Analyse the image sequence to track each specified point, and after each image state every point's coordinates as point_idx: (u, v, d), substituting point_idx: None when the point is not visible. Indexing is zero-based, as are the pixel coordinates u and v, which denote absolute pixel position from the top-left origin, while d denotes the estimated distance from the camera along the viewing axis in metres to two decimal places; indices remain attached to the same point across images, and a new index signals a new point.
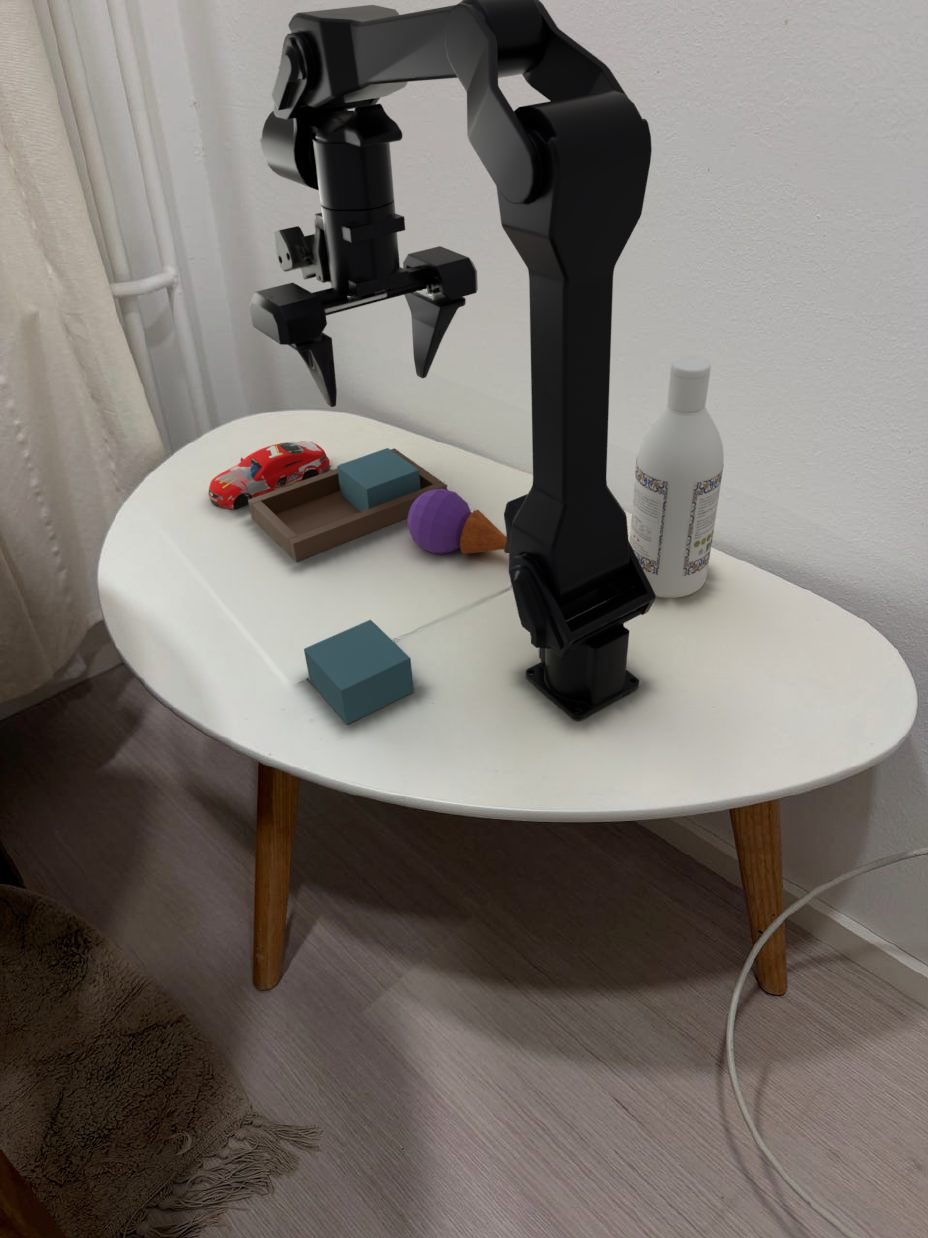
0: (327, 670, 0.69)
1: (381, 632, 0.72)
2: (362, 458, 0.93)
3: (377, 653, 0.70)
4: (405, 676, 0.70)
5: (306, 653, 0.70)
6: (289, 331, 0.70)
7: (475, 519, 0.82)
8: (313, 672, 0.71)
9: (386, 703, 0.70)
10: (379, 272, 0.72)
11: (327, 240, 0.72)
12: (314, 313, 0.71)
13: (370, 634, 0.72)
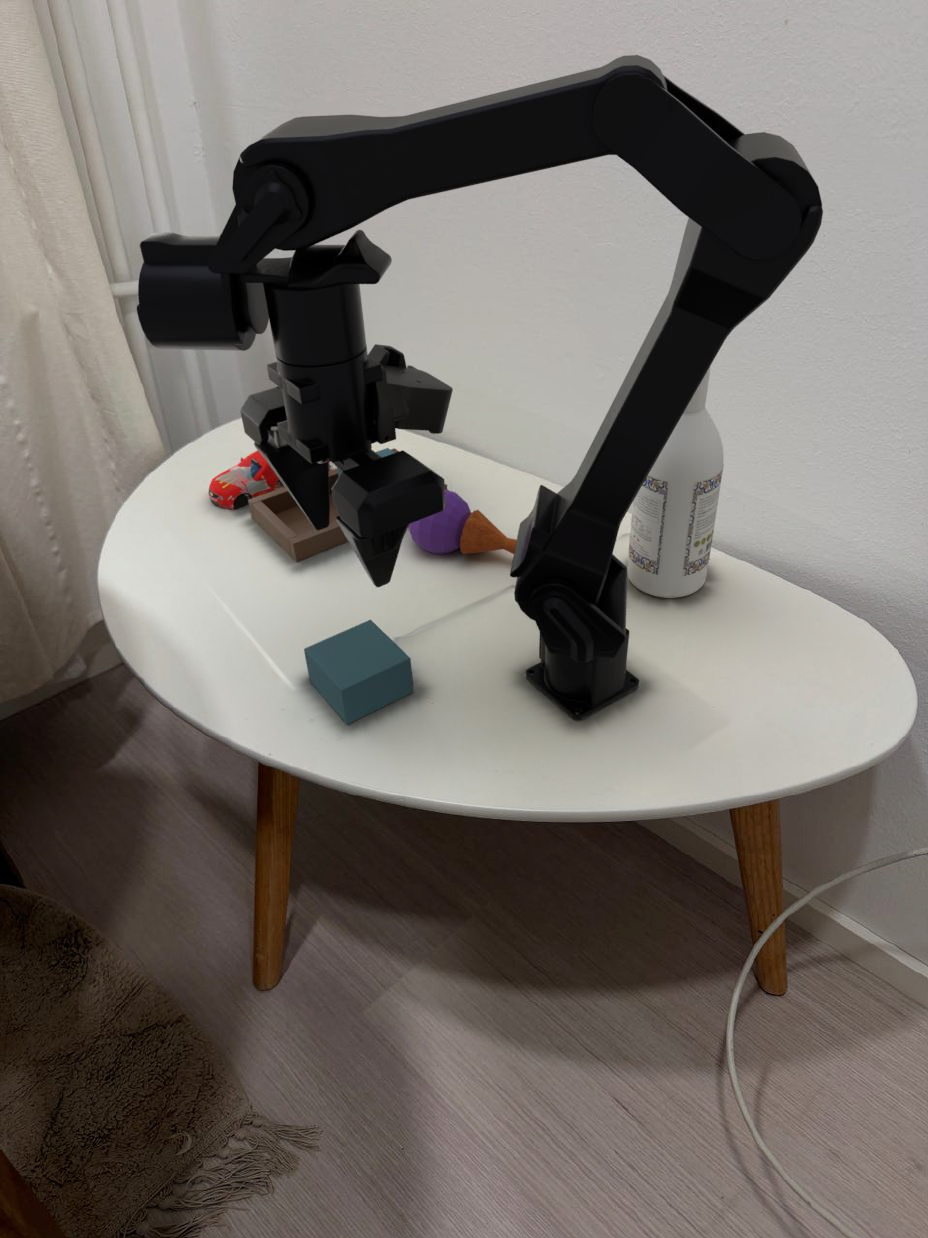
0: (327, 670, 0.69)
1: (381, 632, 0.72)
2: None
3: (377, 653, 0.70)
4: (405, 676, 0.70)
5: (306, 653, 0.70)
6: (242, 420, 0.67)
7: (475, 519, 0.82)
8: (313, 672, 0.71)
9: (386, 703, 0.70)
10: (290, 429, 0.60)
11: None
12: (254, 421, 0.65)
13: (370, 634, 0.72)
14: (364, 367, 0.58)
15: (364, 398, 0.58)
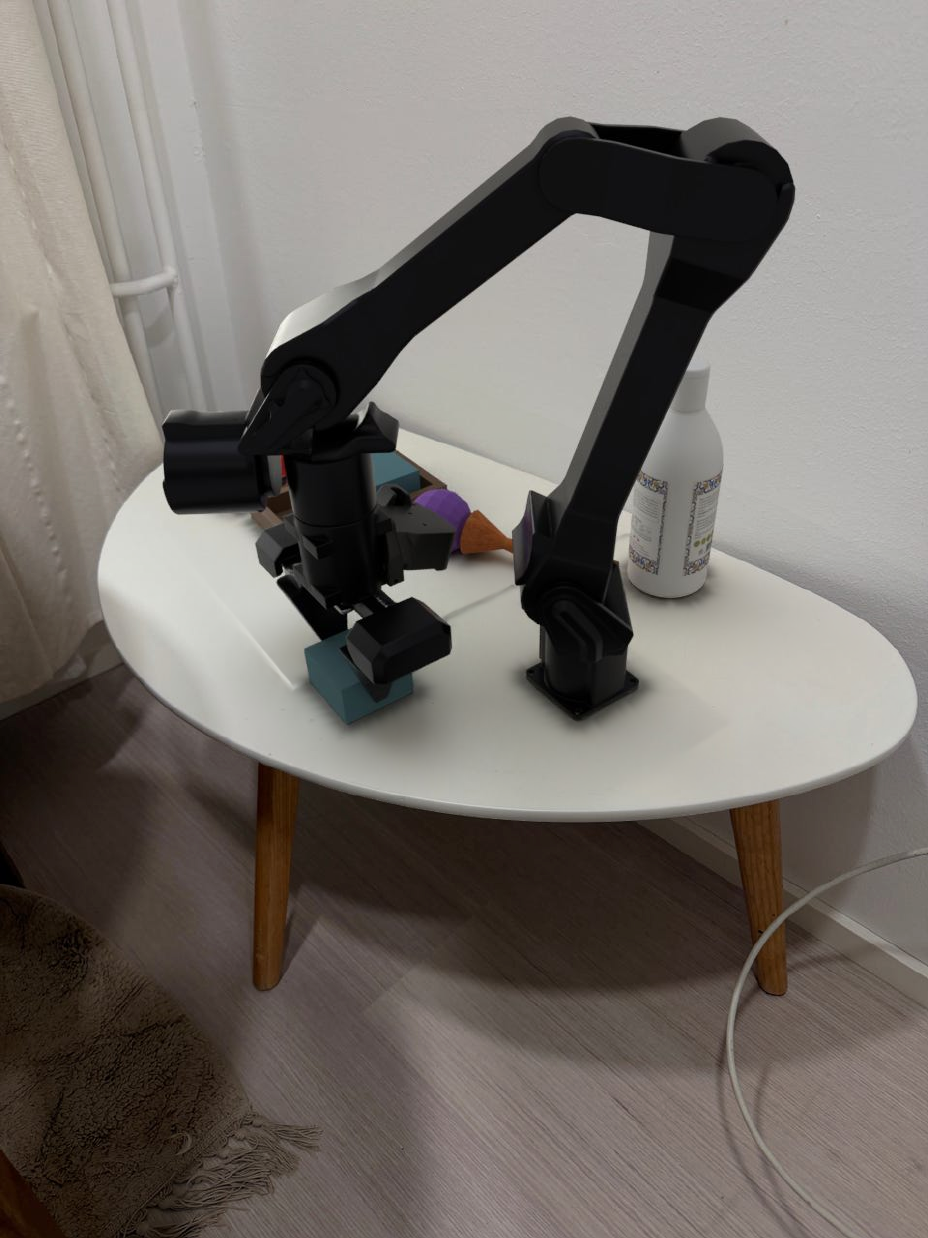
0: (327, 670, 0.69)
1: None
2: None
3: None
4: None
5: (306, 653, 0.70)
6: (257, 553, 0.71)
7: (475, 519, 0.82)
8: (313, 671, 0.71)
9: (386, 703, 0.70)
10: (305, 574, 0.64)
11: None
12: (269, 557, 0.69)
13: None
14: (376, 521, 0.62)
15: (375, 549, 0.63)
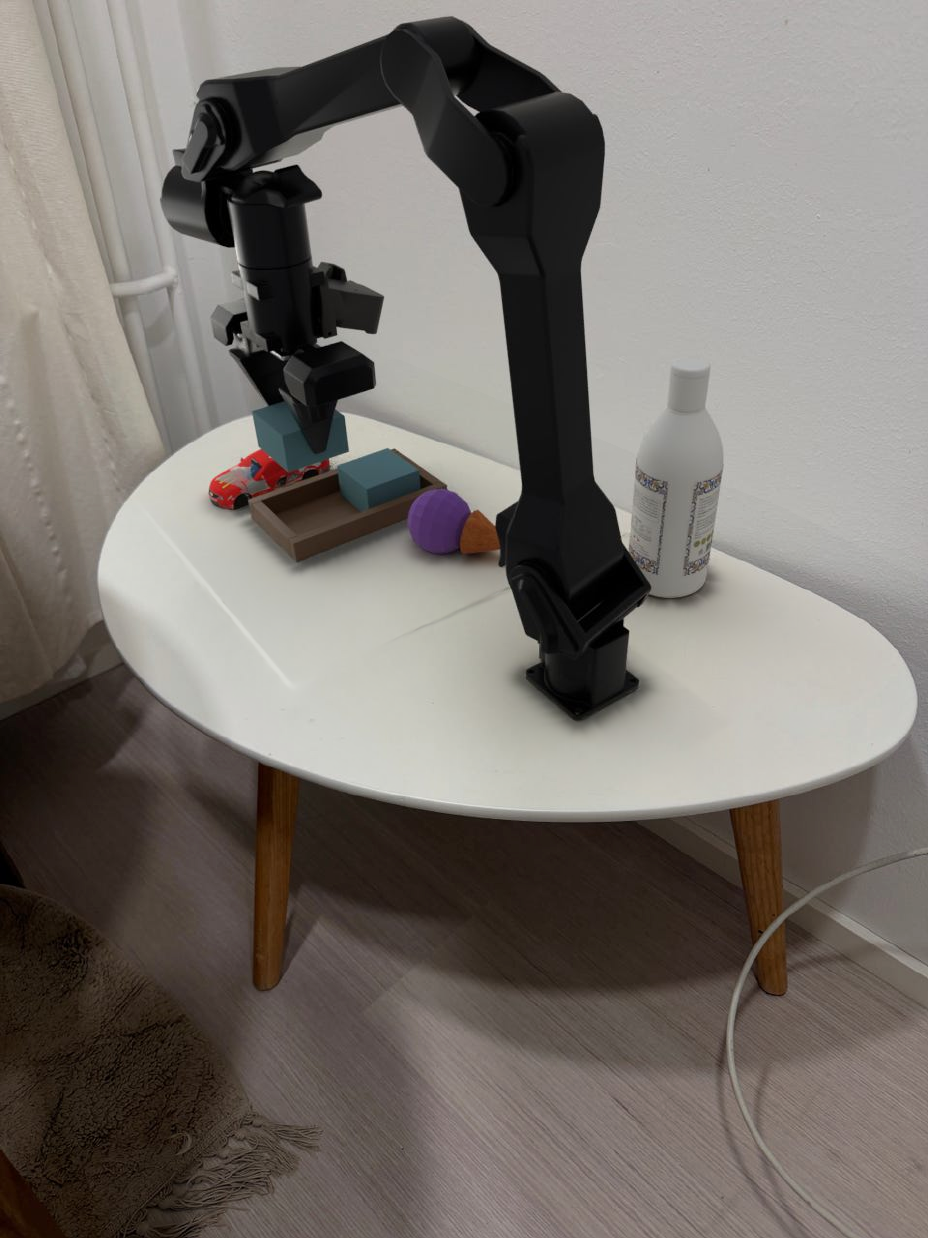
0: (271, 423, 0.78)
1: None
2: (362, 458, 0.93)
3: None
4: (340, 433, 0.80)
5: (254, 414, 0.80)
6: (212, 326, 0.80)
7: (475, 519, 0.82)
8: (260, 432, 0.81)
9: (324, 458, 0.80)
10: (250, 325, 0.73)
11: None
12: (222, 324, 0.78)
13: None
14: (310, 272, 0.72)
15: (310, 299, 0.72)
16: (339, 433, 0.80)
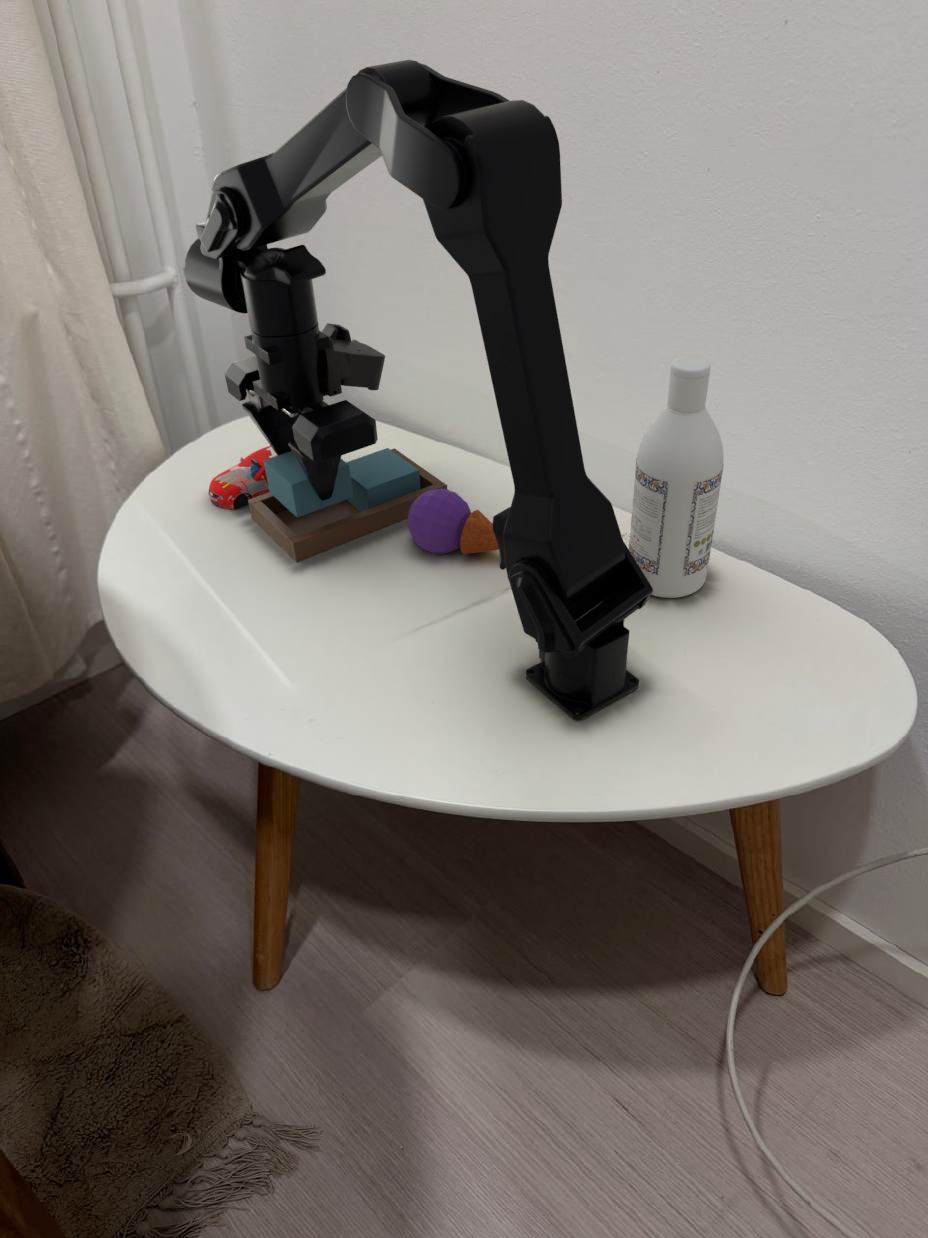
0: (281, 473, 0.85)
1: None
2: (362, 458, 0.93)
3: None
4: (345, 480, 0.86)
5: (265, 463, 0.87)
6: (226, 382, 0.87)
7: (475, 519, 0.82)
8: (271, 479, 0.87)
9: (330, 503, 0.86)
10: (262, 385, 0.80)
11: None
12: (235, 382, 0.85)
13: None
14: (316, 338, 0.78)
15: (317, 361, 0.79)
16: (344, 481, 0.86)
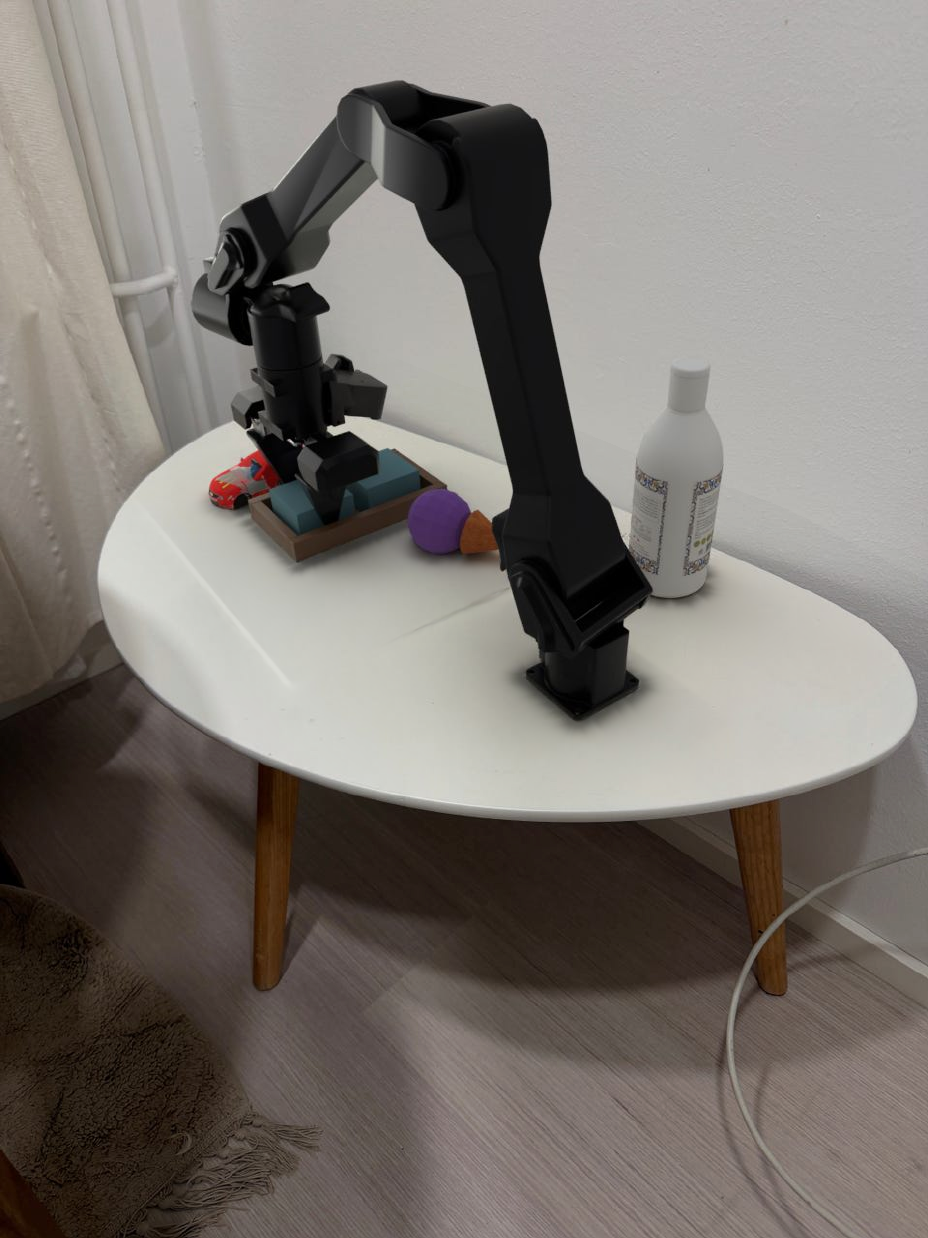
0: (286, 502, 0.87)
1: None
2: None
3: None
4: (349, 509, 0.88)
5: (271, 492, 0.89)
6: (232, 411, 0.89)
7: (475, 519, 0.82)
8: (276, 508, 0.89)
9: None
10: (267, 416, 0.82)
11: None
12: (241, 411, 0.87)
13: None
14: (320, 371, 0.80)
15: (321, 393, 0.81)
16: (348, 510, 0.88)
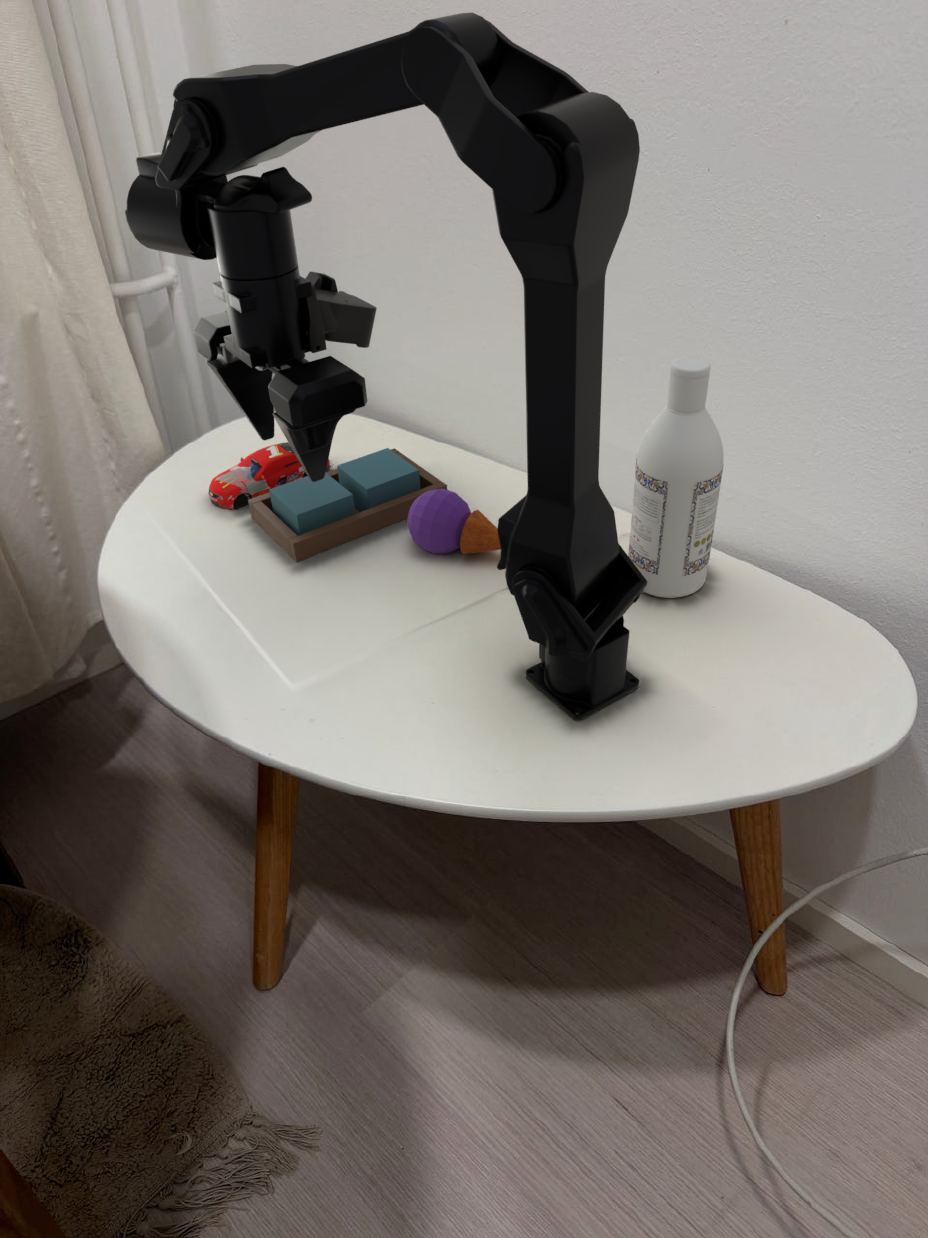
0: (286, 502, 0.87)
1: (331, 478, 0.90)
2: (362, 458, 0.93)
3: (326, 491, 0.88)
4: (349, 509, 0.88)
5: (271, 492, 0.89)
6: (195, 340, 0.76)
7: (475, 519, 0.82)
8: (276, 508, 0.89)
9: None
10: (234, 339, 0.69)
11: None
12: (205, 338, 0.74)
13: (322, 479, 0.90)
14: (296, 283, 0.67)
15: (297, 311, 0.68)
16: (348, 510, 0.88)
